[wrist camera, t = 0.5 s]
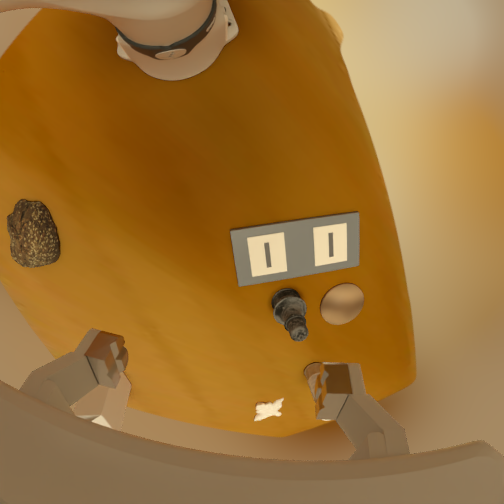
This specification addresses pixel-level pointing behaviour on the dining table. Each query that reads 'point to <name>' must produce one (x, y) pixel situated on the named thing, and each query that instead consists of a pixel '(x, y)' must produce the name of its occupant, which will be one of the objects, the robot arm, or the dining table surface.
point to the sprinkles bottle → (312, 377)
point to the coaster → (342, 303)
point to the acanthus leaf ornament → (268, 409)
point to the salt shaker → (290, 313)
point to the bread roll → (32, 235)
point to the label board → (295, 248)
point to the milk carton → (105, 404)
